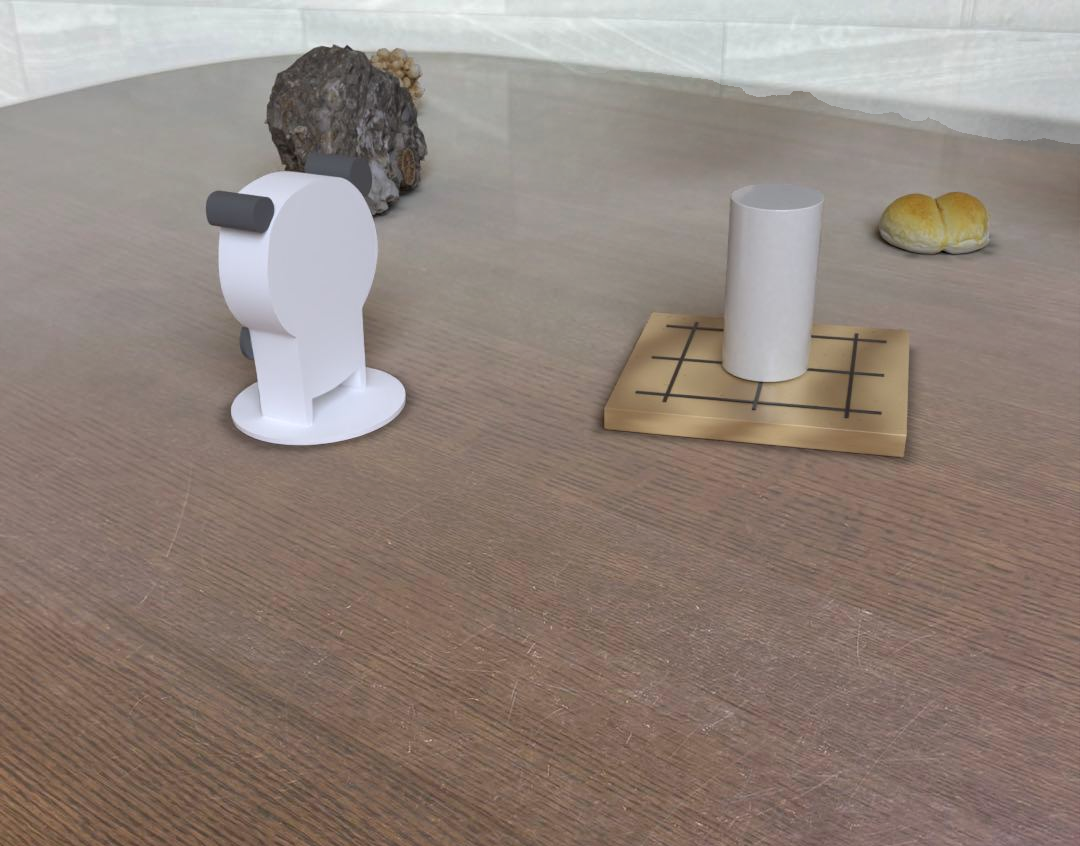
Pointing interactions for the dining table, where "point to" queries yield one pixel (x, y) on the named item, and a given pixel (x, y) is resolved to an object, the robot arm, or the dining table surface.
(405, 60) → the mineral formation
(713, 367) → the game board
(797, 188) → the white tube
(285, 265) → the white plastic upright piece
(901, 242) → the bread roll
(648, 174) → the dining table surface
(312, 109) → the rock
